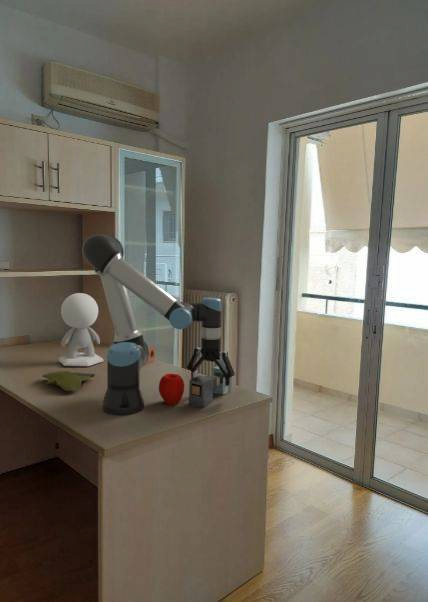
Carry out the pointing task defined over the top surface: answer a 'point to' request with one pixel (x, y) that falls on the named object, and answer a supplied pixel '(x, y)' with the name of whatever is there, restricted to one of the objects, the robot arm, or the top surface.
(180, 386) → the apple
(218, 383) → the collared tan post
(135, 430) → the top surface
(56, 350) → the top surface
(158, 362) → the top surface
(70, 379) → the toy airplane
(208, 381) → the sleeve
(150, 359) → the crank
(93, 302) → the big headed doll
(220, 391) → the socket block
